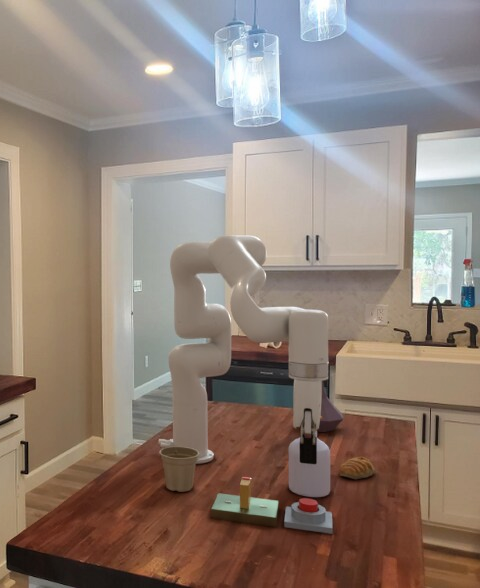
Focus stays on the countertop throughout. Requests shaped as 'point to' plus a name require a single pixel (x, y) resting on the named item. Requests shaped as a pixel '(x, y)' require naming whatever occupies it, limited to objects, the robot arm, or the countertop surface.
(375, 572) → the countertop surface
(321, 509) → the grey square piece
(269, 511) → the plate
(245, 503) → the yellow bar
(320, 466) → the soap bottle
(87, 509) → the countertop surface
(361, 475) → the pastry
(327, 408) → the flask
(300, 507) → the button
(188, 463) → the flower pot
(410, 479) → the countertop surface
